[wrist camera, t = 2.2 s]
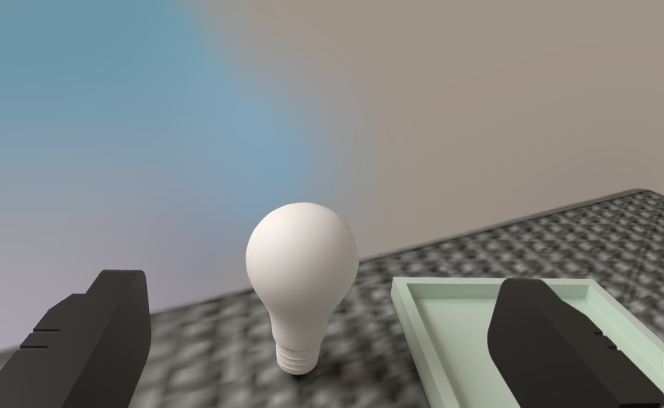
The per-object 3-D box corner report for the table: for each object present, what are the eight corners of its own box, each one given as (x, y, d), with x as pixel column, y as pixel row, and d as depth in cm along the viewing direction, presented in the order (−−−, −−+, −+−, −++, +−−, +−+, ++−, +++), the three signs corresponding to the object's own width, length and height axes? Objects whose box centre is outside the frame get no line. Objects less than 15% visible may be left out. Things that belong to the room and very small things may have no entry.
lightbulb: (259, 330, 30) (260, 180, 25) (348, 340, 30) (365, 191, 25) (234, 402, 24) (230, 228, 20) (343, 416, 24) (364, 242, 19)
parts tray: (585, 297, 36) (592, 279, 36) (799, 505, 21) (819, 481, 20) (390, 296, 34) (393, 277, 34) (473, 525, 19) (481, 499, 18)
